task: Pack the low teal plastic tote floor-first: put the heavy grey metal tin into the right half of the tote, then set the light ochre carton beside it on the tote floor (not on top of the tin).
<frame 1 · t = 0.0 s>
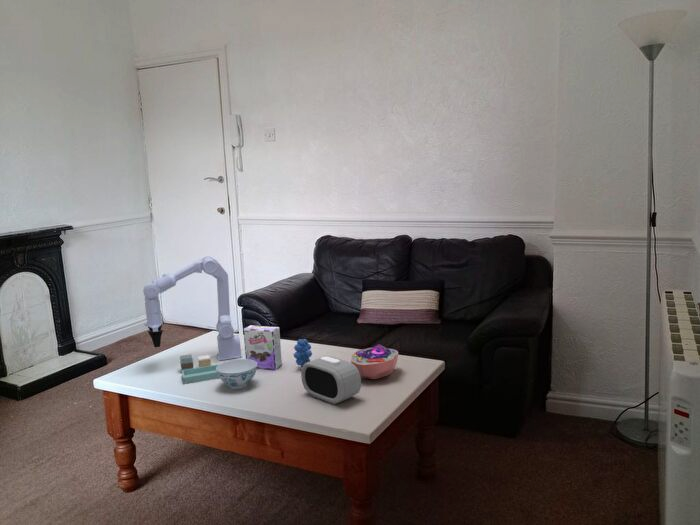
hand: (157, 344, 237), 10 cm above the table, fingers open, 7 cm apart
tin: (187, 370, 233), on the table
alarm clock: (331, 397, 199), on the table
candy box: (264, 367, 233), on the table
carton: (205, 368, 236), on the table
cell model: (375, 376, 216), on the table
grapes: (305, 367, 230), on the table
chinaware: (238, 386, 214), on the table
tote: (202, 376, 225), on the table
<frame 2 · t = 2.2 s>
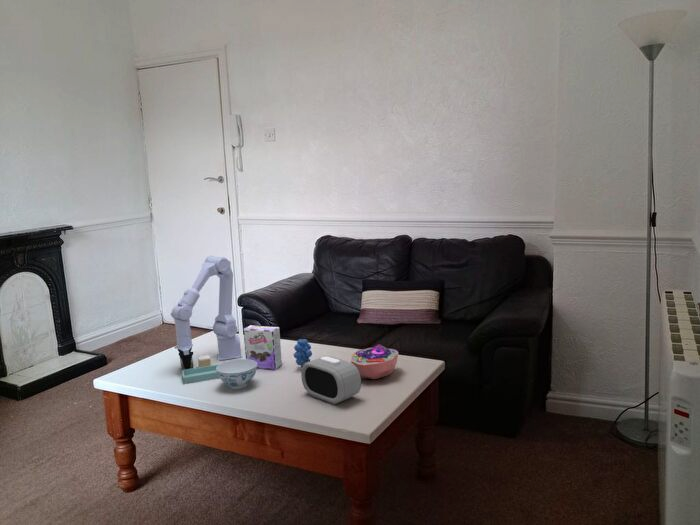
hand: (187, 366, 233), 2 cm above the table, fingers closed on tin, 5 cm apart
tin: (187, 370, 233), on the table, touching gripper
everything else where it was.
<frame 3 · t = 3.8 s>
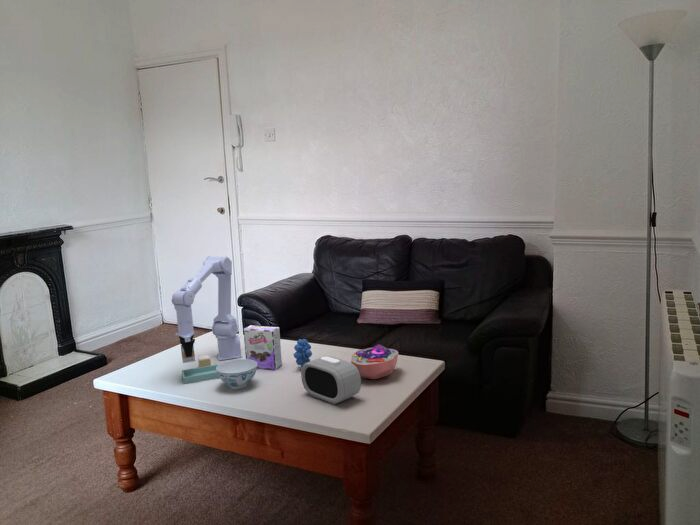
hand: (188, 354, 224), 9 cm above the table, fingers closed on tin, 5 cm apart
tin: (188, 360, 225), point 7 cm above the table, touching gripper
everything else where it was.
when the fingers open (4 cm above the table, at t = 5.5 s): tin stays where it is, resting on tote.
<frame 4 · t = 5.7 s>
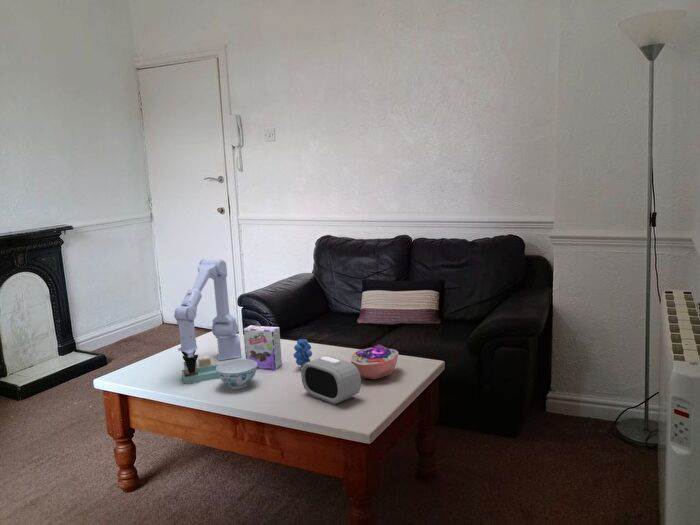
hand: (191, 369, 223), 4 cm above the table, fingers open, 6 cm apart
tin: (191, 377, 224), resting on tote
everything else where it was.
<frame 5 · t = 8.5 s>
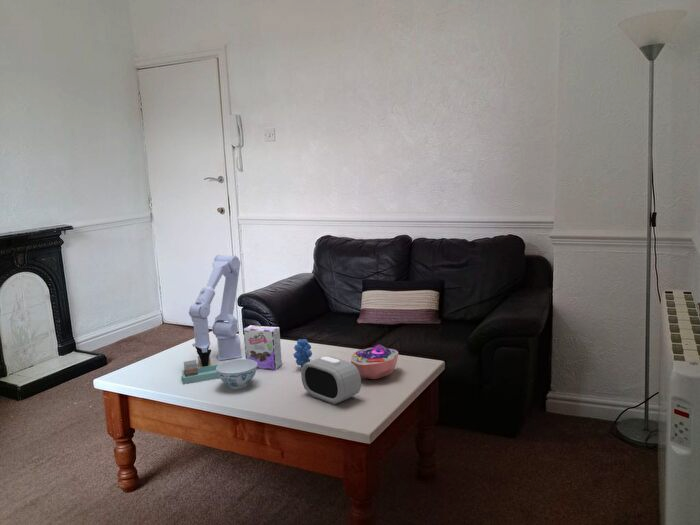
hand: (204, 364, 235), 1 cm above the table, fingers closed on carton, 4 cm apart
carton: (205, 367, 236), on the table, touching gripper
everything else where it was.
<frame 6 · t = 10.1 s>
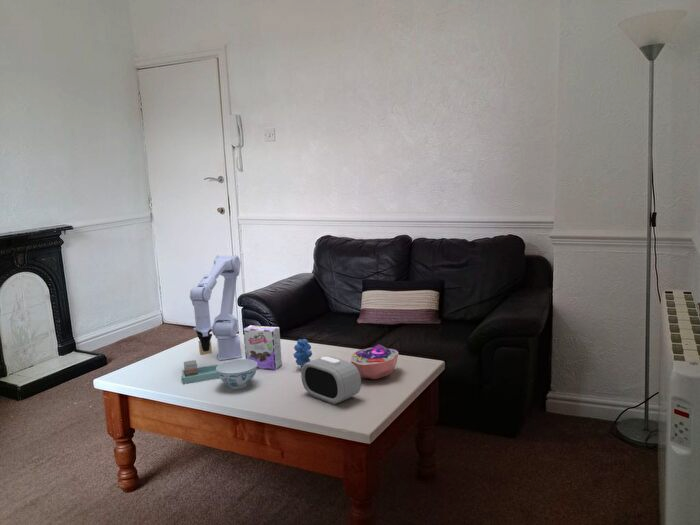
hand: (205, 349, 231), 9 cm above the table, fingers closed on carton, 4 cm apart
carton: (205, 352, 231), point 8 cm above the table, touching gripper
everything else where it was.
when the fingers open (3 cm above the table, at t = 12.0 s): carton drops 1 cm, resting on tote.
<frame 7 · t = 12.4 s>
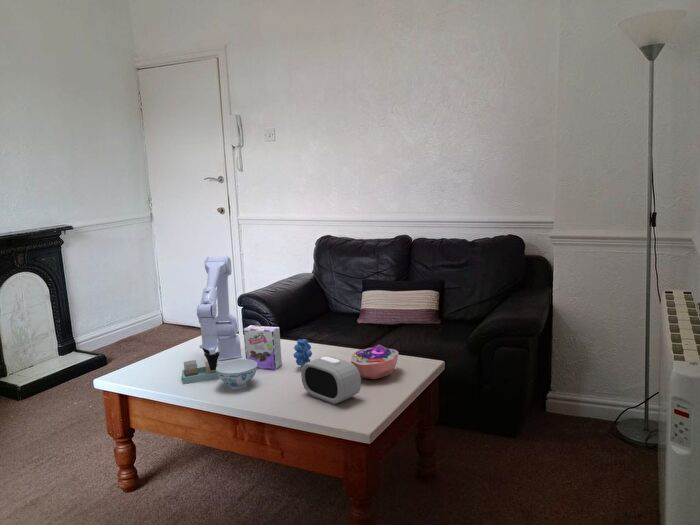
hand: (212, 366, 226), 3 cm above the table, fingers open, 7 cm apart
carton: (212, 373, 226), resting on tote
everything else where it was.
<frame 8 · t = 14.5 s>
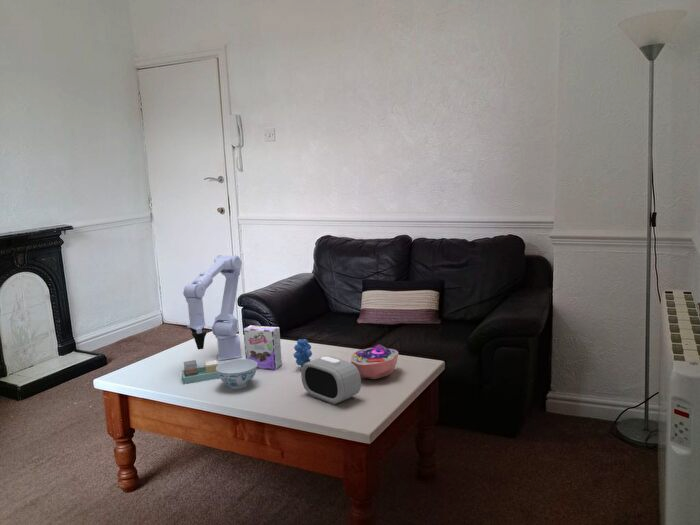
hand: (199, 346, 230), 10 cm above the table, fingers open, 7 cm apart
nothing on the table moved.
at the end: tin inside the target area on the tote (0.6 cm from its centre), point 0.5 cm above the tote's base; carton inside the target area on the tote (0.6 cm from its centre), point 0.5 cm above the tote's base; carton tilted 0° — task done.
